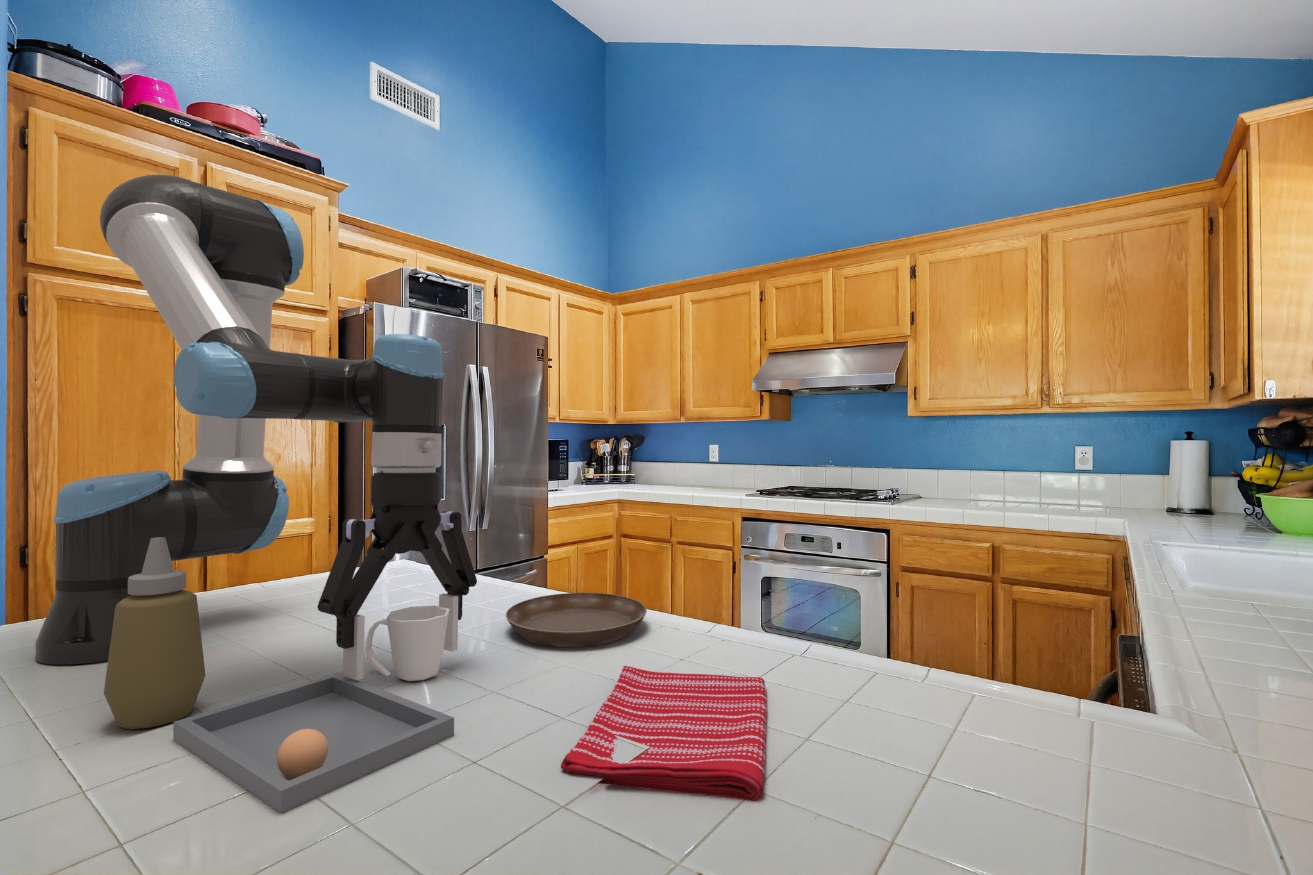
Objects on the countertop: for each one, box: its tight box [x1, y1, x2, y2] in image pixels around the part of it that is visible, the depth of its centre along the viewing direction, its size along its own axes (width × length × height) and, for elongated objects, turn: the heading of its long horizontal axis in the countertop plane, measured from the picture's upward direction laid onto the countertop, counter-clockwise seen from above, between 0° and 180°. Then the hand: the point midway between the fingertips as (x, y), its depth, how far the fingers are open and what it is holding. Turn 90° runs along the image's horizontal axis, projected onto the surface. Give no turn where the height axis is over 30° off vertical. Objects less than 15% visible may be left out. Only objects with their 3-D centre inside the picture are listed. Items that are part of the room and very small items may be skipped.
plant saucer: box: [505, 592, 648, 648], centre depth 94 cm, size 21×21×3 cm
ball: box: [277, 729, 328, 779], centre depth 51 cm, size 4×4×4 cm
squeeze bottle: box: [103, 537, 206, 730], centre depth 64 cm, size 8×8×18 cm
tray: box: [172, 672, 455, 815], centre depth 58 cm, size 20×15×2 cm
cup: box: [365, 605, 450, 682], centre depth 73 cm, size 7×10×8 cm
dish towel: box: [560, 665, 768, 802], centre depth 61 cm, size 17×24×3 cm
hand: (403, 662), depth 72 cm, fingers open, 11 cm apart
